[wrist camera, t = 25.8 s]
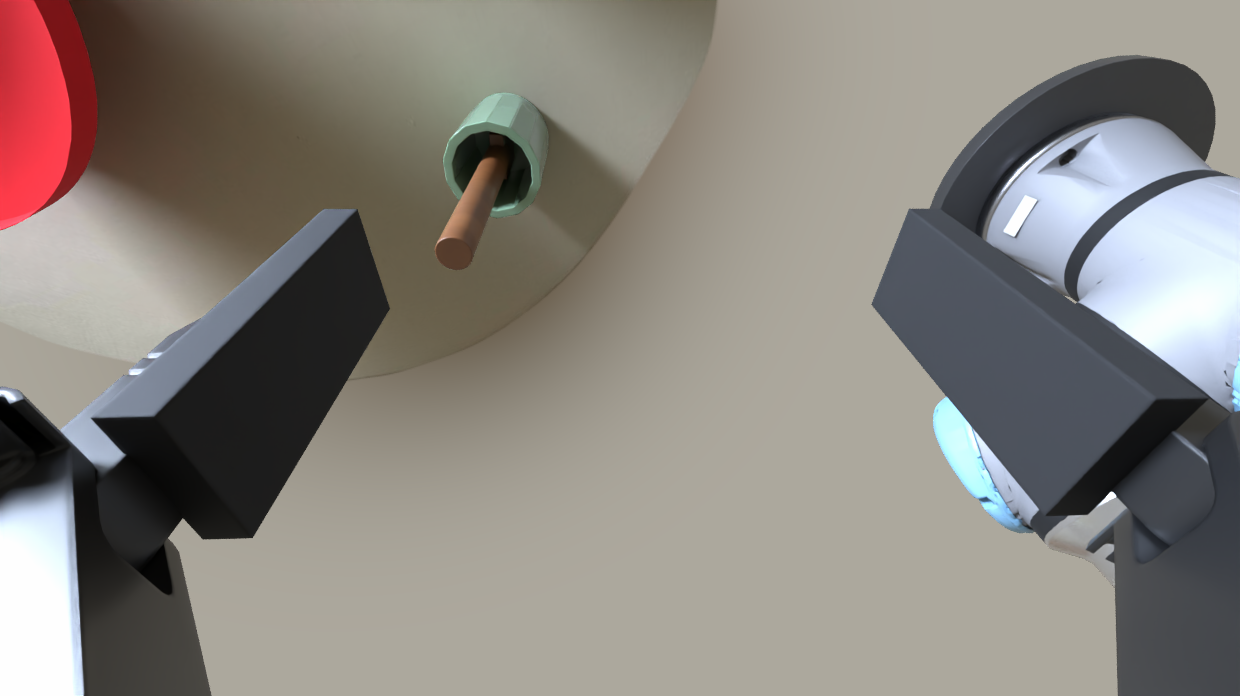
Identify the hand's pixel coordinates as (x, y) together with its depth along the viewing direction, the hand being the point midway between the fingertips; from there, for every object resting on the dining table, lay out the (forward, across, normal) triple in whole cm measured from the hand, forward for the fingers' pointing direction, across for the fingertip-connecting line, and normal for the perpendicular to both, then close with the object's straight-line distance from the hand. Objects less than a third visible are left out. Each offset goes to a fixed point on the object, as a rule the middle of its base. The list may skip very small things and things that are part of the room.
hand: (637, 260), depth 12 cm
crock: (+32, -8, -5) cm, 33 cm away
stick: (+31, -8, -5) cm, 33 cm away
